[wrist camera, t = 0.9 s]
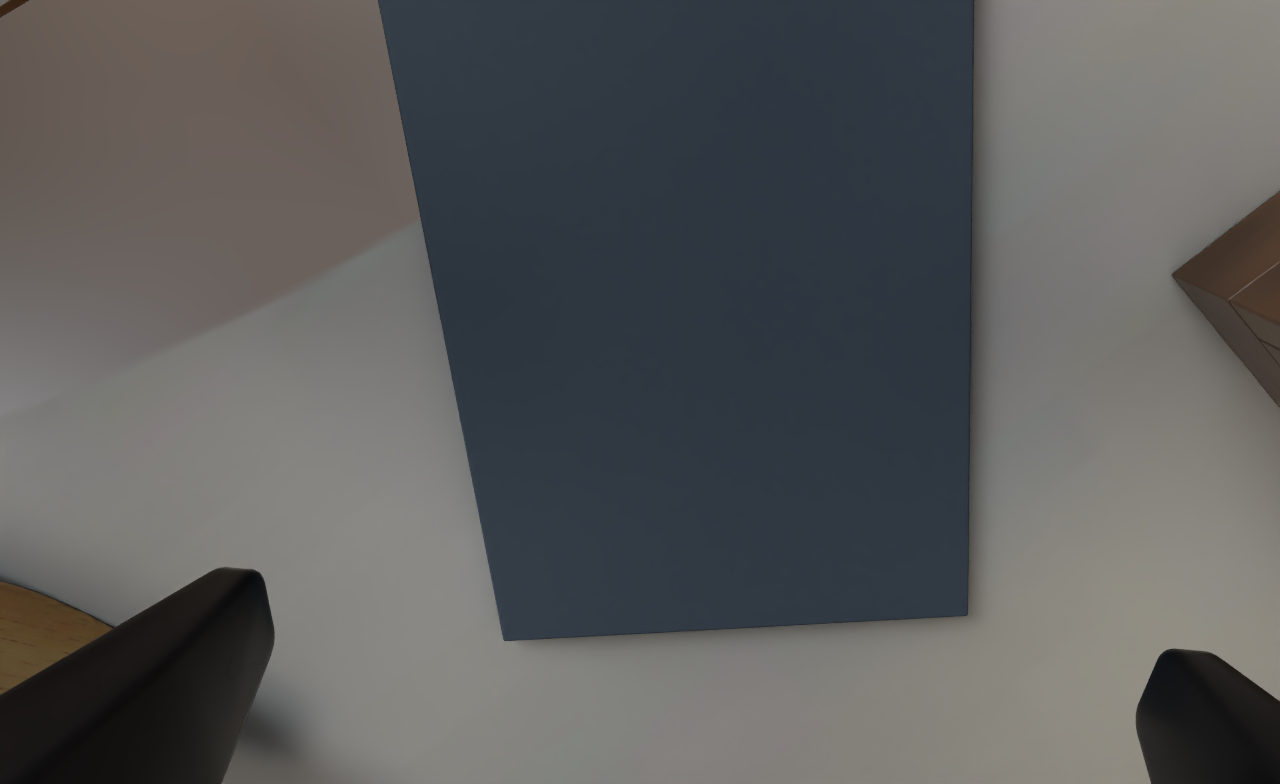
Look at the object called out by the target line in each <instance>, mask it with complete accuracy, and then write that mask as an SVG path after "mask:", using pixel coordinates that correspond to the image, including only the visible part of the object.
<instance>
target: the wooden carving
mask: <svg viewBox="0 0 1280 784" xmlns="http://www.w3.org/2000/svg"><path fill="white" fill-rule="evenodd" d="M112 629H113V628H112V627H110V626H108V625H107V624H105V623H103V622H101V621H99V620H97V619H95V618H94V617H92V616H90V615H88V614H86V613H84V612H82V611H79V610H77V609H75V608H73V607H71V606H69V605H66V604H64V603H61V602H59V601H57V600H54V599H52V598H49V597H47V596H45V595H42V594H40V593H37V592H34V591H31V590H28V589H25V588H22V587H19V586H16V585H12V584H9V583H5V582H2V581H0V695H1V694H2V693H4V692H6V691H7V690H9V689H11V688H13V687H14V686H16V685H18V684H19V683H21V682H23V681H24V680H26V679H28V678H30V677H31V676H33V675H35V674H36V673H38V672H40V671H42V670H43V669H45V668H47V667H48V666H50V665H52V664H54V663H55V662H57V661H59V660H60V659H62V658H64V657H66V656H67V655H69V654H71V653H72V652H74V651H76V650H77V649H79V648H81V647H83V646H84V645H86V644H88V643H89V642H91V641H93V640H95V639H96V638H98V637H100V636H101V635H103V634H105V633H107V632H108V631H110V630H112Z"/></svg>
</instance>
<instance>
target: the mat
mask: <svg viewBox="0 0 1280 784" xmlns="http://www.w3.org/2000/svg"><path fill="white" fill-rule="evenodd" d="M378 2H379V8H380V13H381V18H382V23H383V28H384V33H385V38H386V43H387V49H388V54H389V59H390V64H391V69H392V74H393V79H394V84H395V89H396V94H397V99H398V104H399V110H400V114H401V120H402V125H403V130H404V135H405V140H406V145H407V150H408V156H409V161H410V165H411V171H412V176H413V180H414V185H415V191H416V196H417V201H418V206H419V212H420V217H421V222H422V227H423V232H424V237H425V242H426V247H427V252H428V257H429V263H430V268H431V273H432V278H433V283H434V288H435V293H436V298H437V303H438V308H439V313H440V319H441V324H442V329H443V334H444V339H445V344H446V349H447V354H448V359H449V364H450V369H451V375H452V380H453V385H454V390H455V395H456V400H457V405H458V410H459V415H460V420H461V425H462V431H463V436H464V441H465V446H466V451H467V456H468V461H469V466H470V471H471V476H472V482H473V487H474V492H475V497H476V502H477V507H478V512H479V517H480V522H481V527H482V532H483V538H484V543H485V548H486V553H487V558H488V563H489V568H490V573H491V578H492V583H493V588H494V594H495V599H496V604H497V609H498V614H499V619H500V624H501V629H502V634H503V639H504V641H516V640H534V639H552V638H571V637H589V636H607V635H625V634H644V633H662V632H680V631H698V630H717V629H735V628H753V627H771V626H790V625H808V624H826V623H844V622H863V621H881V620H899V619H917V618H936V617H954V616H967V615H968V569H969V468H970V368H971V267H972V166H973V66H974V0H378Z"/></svg>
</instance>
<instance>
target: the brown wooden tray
mask: <svg viewBox="0 0 1280 784" xmlns="http://www.w3.org/2000/svg"><path fill="white" fill-rule="evenodd" d="M1172 276H1173V277H1174V279H1175V280H1176V281H1177V282H1178V283H1179V285H1180V286H1181V287H1182V288H1183V290H1184V291H1185V292H1186V293H1187V294H1188V296H1189V297H1190V298H1191V299H1192V301H1193V302H1194V303H1195V304H1196V305H1197V307H1198V308H1199V309H1200V310H1201V312H1202V313H1203V314H1204V315H1205V316H1206V318H1207V319H1208V320H1209V321H1210V323H1211V324H1212V325H1213V326H1214V327H1215V329H1216V330H1217V331H1218V332H1219V334H1220V335H1221V336H1222V337H1223V338H1224V340H1225V341H1226V342H1227V343H1228V345H1229V346H1230V347H1231V348H1232V349H1233V351H1234V352H1235V353H1236V354H1237V356H1238V357H1239V358H1240V359H1241V360H1242V362H1243V363H1244V364H1245V365H1246V367H1247V368H1248V369H1249V370H1250V371H1251V373H1252V374H1253V375H1254V376H1255V378H1256V379H1257V380H1258V381H1259V382H1260V384H1261V385H1262V386H1263V387H1264V389H1265V390H1266V391H1267V392H1268V393H1269V395H1270V396H1271V397H1272V398H1273V400H1274V401H1275V402H1276V403H1277V404H1278V406H1279V407H1280V192H1278V193H1277V194H1276V195H1274V196H1273V197H1272V198H1270V199H1269V200H1268V201H1267V202H1265V203H1264V204H1263V205H1261V206H1260V207H1259V208H1257V209H1256V210H1255V211H1254V212H1252V213H1251V214H1250V215H1248V216H1247V217H1246V218H1244V219H1243V220H1242V221H1241V222H1239V223H1238V224H1237V225H1235V226H1234V227H1233V228H1231V229H1230V230H1229V231H1228V232H1226V233H1225V234H1224V235H1222V236H1221V237H1220V238H1218V239H1217V240H1216V241H1215V242H1213V243H1212V244H1211V245H1209V246H1208V247H1207V248H1205V249H1204V250H1203V251H1202V252H1200V253H1199V254H1198V255H1196V256H1195V257H1194V258H1192V259H1191V260H1190V261H1189V262H1187V263H1186V264H1185V265H1183V266H1182V267H1181V268H1179V269H1178V270H1177V271H1176V272H1174V273H1173V274H1172Z"/></svg>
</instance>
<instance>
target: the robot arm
mask: <svg viewBox="0 0 1280 784" xmlns="http://www.w3.org/2000/svg"><path fill="white" fill-rule="evenodd" d="M273 645H274V625H273V620H272V615H271V610H270V605H269V600H268V595H267V591H266V586H265V582H264V579H263V577H262V575H261V574H260V573H259V572H258V571H255V570H252V569H240V568H229V567H223V568H217V569H215V570H213V571H211V572H209V573H207V574H206V575H204V576H202V577H201V578H199V579H197V580H195V581H194V582H192V583H190V584H189V585H187V586H185V587H183V588H182V589H180V590H178V591H177V592H175V593H173V594H171V595H170V596H168V597H166V598H165V599H163V600H161V601H160V602H158V603H156V604H154V605H153V606H151V607H149V608H148V609H146V610H144V611H142V612H141V613H139V614H137V615H136V616H134V617H132V618H130V619H129V620H127V621H125V622H124V623H122V624H120V625H118V626H117V627H115V628H113V629H112V630H110V631H108V632H107V633H105V634H103V635H101V636H100V637H98V638H96V639H95V640H93V641H91V642H89V643H88V644H86V645H84V646H83V647H81V648H79V649H77V650H76V651H74V652H72V653H71V654H69V655H67V656H66V657H64V658H62V659H60V660H59V661H57V662H55V663H54V664H52V665H50V666H48V667H47V668H45V669H43V670H42V671H40V672H38V673H36V674H35V675H33V676H31V677H30V678H28V679H26V680H24V681H23V682H21V683H19V684H18V685H16V686H14V687H13V688H11V689H9V690H7V691H6V692H4V693H2V694H1V695H0V784H221V783H222V781H223V778H224V776H225V773H226V771H227V768H228V766H229V763H230V761H231V758H232V755H233V753H234V750H235V748H236V745H237V742H238V740H239V737H240V735H241V732H242V729H243V727H244V724H245V722H246V719H247V716H248V714H249V711H250V708H251V706H252V703H253V701H254V698H255V695H256V693H257V690H258V688H259V685H260V682H261V680H262V677H263V675H264V672H265V669H266V667H267V664H268V661H269V659H270V656H271V653H272V650H273ZM1136 729H1137V734H1138V738H1139V741H1140V745H1141V749H1142V752H1143V756H1144V759H1145V763H1146V766H1147V770H1148V774H1149V777H1150V781H1151V784H1280V701H1279V700H1277V699H1276V698H1274V697H1273V696H1272V695H1270V694H1269V693H1267V692H1266V691H1265V690H1263V689H1262V688H1261V687H1259V686H1258V685H1256V684H1255V683H1254V682H1252V681H1251V680H1250V679H1248V678H1247V677H1245V676H1244V675H1243V674H1241V673H1240V672H1239V671H1237V670H1236V669H1234V668H1233V667H1232V666H1230V665H1229V664H1228V663H1226V662H1225V661H1223V660H1222V659H1221V658H1219V657H1218V656H1216V655H1214V654H1212V653H1209V652H1205V651H1195V650H1184V649H1169V650H1166V651H1164V652H1163V653H1162V654H1161V655H1160V656H1159V658H1158V660H1157V662H1156V664H1155V667H1154V669H1153V671H1152V674H1151V676H1150V678H1149V680H1148V683H1147V685H1146V687H1145V690H1144V692H1143V694H1142V697H1141V699H1140V701H1139V704H1138V707H1137V711H1136Z"/></svg>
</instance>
